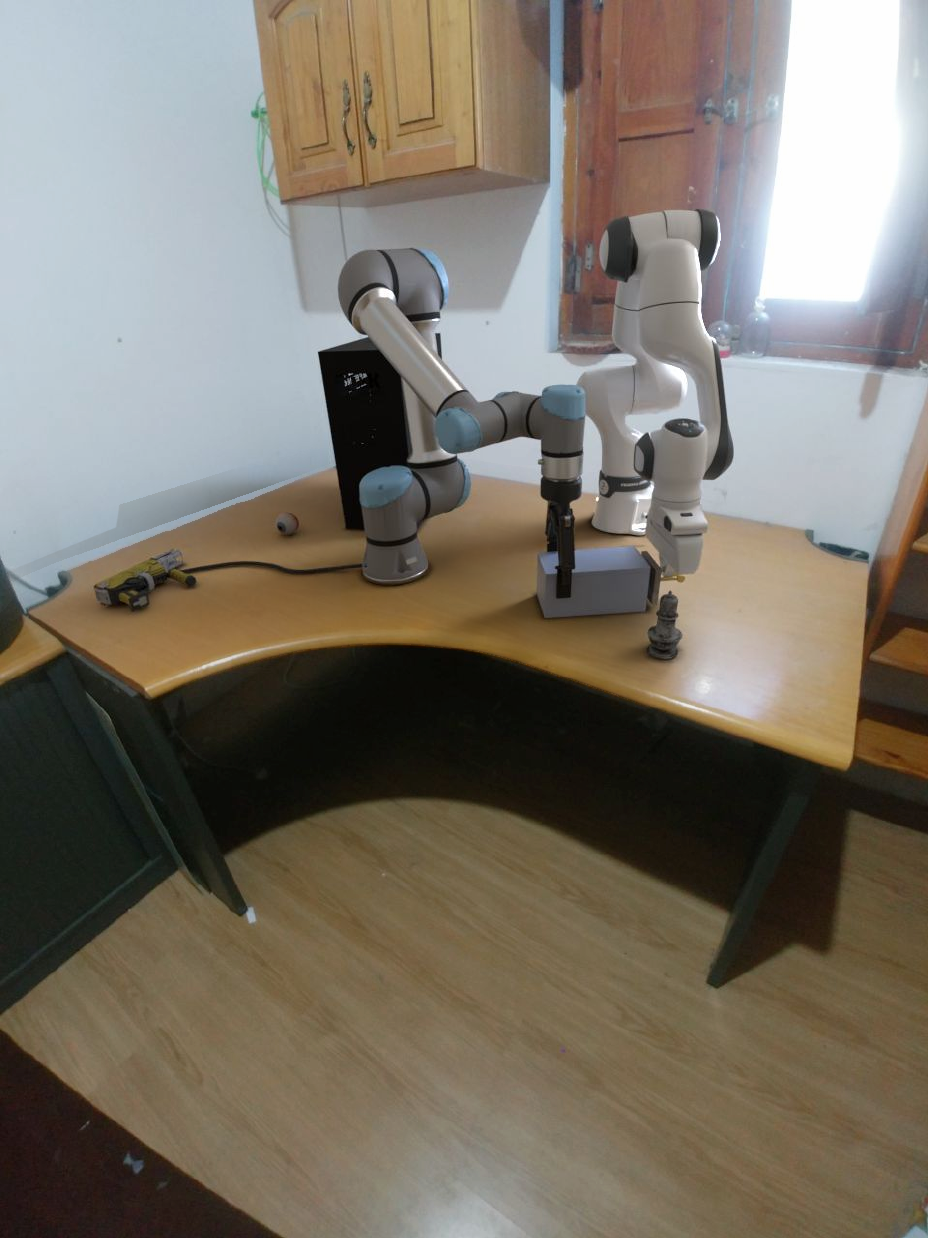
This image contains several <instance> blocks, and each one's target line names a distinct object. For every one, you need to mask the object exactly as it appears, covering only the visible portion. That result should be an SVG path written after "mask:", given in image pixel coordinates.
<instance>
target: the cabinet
mask: <svg viewBox="0 0 928 1238" xmlns="http://www.w3.org/2000/svg"><path fill="white" fill-rule="evenodd" d="M536 558H537V559H536V597H537V598H538V602H539V605H540V608H541V611H542V613H543V614H542V615H543V617H544V619H554V618H555V619H556V618H568V617H569V618H570V617H583V616H597V615H612V614H624V613H625V614H626V613H627V614H629V613H640V612H646V609H647V601H648V599H647V594H648V585H649V577H650V568H651V567H650V566H649V565H648V563H647V562H646V561H645V559H644V558H643V557H642V555H641V552H640V551H639V550H638V549H637V548H636V546H635V545H629V546H628V545H627V546H613V547H599V548H598V547H597V548H585V549H583V548H582V549H575V569H572V582H571V598H560V599H557V598H556V586H557V569H556V570H555V566H558V565H559V564H558V551H552V552H547V551H538V552H537V553H536Z"/></svg>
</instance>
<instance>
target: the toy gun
mask: <svg viewBox="0 0 928 1238" xmlns="http://www.w3.org/2000/svg"><path fill="white" fill-rule="evenodd" d="M179 557H181V560H177V558H179ZM183 564H184V558H183V552H182V551H181V550H179V549H174V548H171V549H169V550H167V551H164V552H163V553H161V554H159V555H156V556H155V557H150V558H148V559H146V560H144V561H142V562H139V563H138V564H135V565H133V566H131V567H129V568H127V569H125V570H122V571H120V572H118V573H116V574H113V575H112V576H110V577H108V578H106V579H104V580H101V581H99V582H97V583H95V584H93V590H94V594H95V598H96V600H97V603H99V604H100V605H101V606H105V607H107V606H117V605H121V604H127V605H128V606H129V607H130V611H131V612H136V611H138V610H141V609H143V608H145V607H147V606H148V607H149V606H150V599H149V595H148V593H149V592H151V591H154V590H155V586H156V585H159V584H161V583H164V582H165V581H168V579H171V580H174V581H177V582H178V583H182V584H183V585H184V584H185V585H186V586H187V587H193V586H195V585H196V584H197V578H196V576H194V575H192V574H188V573H183V572H181V571H179V569H176V568H177V567H180V565H183Z"/></svg>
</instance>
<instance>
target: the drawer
mask: <svg viewBox="0 0 928 1238" xmlns="http://www.w3.org/2000/svg"><path fill="white" fill-rule="evenodd" d="M640 554H641V555H642V557H643V558H644V559H645V561H646V562H647V563H648V565H649V566H650V567H651V568H650V577H649V585H648V594H647V601H648V602H649V604H650V605H651V606H657V605H658V602H659V595H660V588H661V582H671V581H677V583H683V582H685V580H686V576H685V575H678V574H676V572H675V571H674V574H673V577H663V576H662V574H661V573H662V569H661V568H660V565H659V564H658V563H657V561H656V560H655V559H654V558H653V557H652V555H651V554H650V553H649V552H648V550H642V551H641V552H640Z"/></svg>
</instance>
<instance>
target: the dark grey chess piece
mask: <svg viewBox="0 0 928 1238" xmlns="http://www.w3.org/2000/svg"><path fill="white" fill-rule="evenodd" d="M678 604H679V599H678V597H677V595H675V594H673V591H672V590H671V589H670V590H669V591H668V592H667V593H666V594H663V595H661V597H660V600H659V605H658V607H659V608H658V610H657V611H656V612H655V616H656V617H657V619H656V624H655V625H651V626H650V627H649V628H648V629H647V631H646V634H647V636H648V640H649V642H650V643H649V644H648V645H647V647H646V651H647V653H648V654H649V655H651V656H652V657H654V658H657V659H661V660H669V659H674V658H675V657H677V656H678V655H679V650H678V648H677V646H678V644H679V643H680V641H681V640H682V638H683V633H682V631H681V630H680V629H678V628H677V627H676V621H677V619H678V618H679V613H678V611H677V610H678Z"/></svg>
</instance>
